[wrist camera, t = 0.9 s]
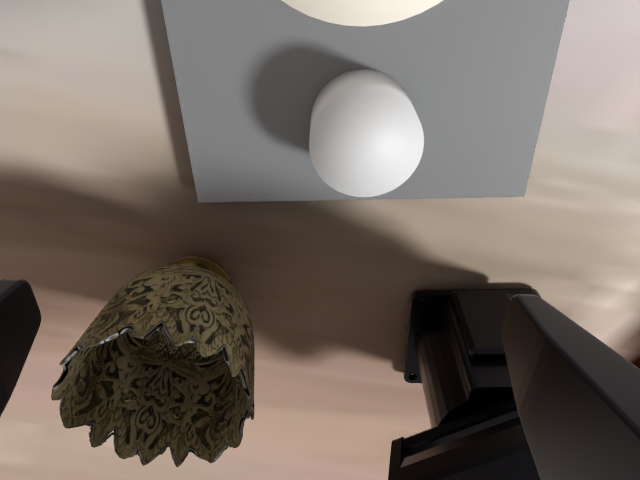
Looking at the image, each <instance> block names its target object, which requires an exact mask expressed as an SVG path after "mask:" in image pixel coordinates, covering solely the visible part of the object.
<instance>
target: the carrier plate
mask: <svg viewBox="0 0 640 480" xmlns="http://www.w3.org/2000/svg"><path fill="white" fill-rule="evenodd" d="M161 4H162V9H163V15H164V20H165V26H166V31H167V37H168V42H169V47H170V53H171V58H172V64H173V69H174V75H175V80H176V85H177V91H178V96H179V102H180V107H181V113H182V118H183V124H184V129H185V134H186V140H187V145H188V151H189V156H190V162H191V167H192V173H193V178H194V183H195V189H196V194H197V200H198V203H210V202H264V201H319V200H373V199H428V198H483V197H524V195H525V191H526V186H527V182H528V178H529V173H530V169H531V165H532V160H533V156H534V152H535V147H536V143H537V139H538V134H539V130H540V126H541V121H542V117H543V113H544V108H545V104H546V100H547V95H548V91H549V87H550V82H551V78H552V74H553V69H554V65H555V61H556V56H557V52H558V48H559V43H560V39H561V35H562V30H563V26H564V22H565V17H566V13H567V9H568V4H569V0H161Z"/></svg>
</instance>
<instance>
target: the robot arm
mask: <svg viewBox="0 0 640 480" xmlns="http://www.w3.org/2000/svg"><path fill="white" fill-rule="evenodd" d="M421 299H423V300H424V301H422V302H418V300H421ZM40 322H41V313H40V310H39V307H38V305H37V302H36V299H35V296H34V294H33V291H32V288H31V286H30V284H29V283H28V282H27V281H26V280H23V279H1V280H0V416H1V414H2V413H3V411H4V409H5V407H6V405H7V403H8V401H9V399H10V397H11V395H12V392H13V390H14V388H15V386H16V383H17V381H18V378H19V376H20V373H21V371H22V368H23V366H24V363H25V361H26V359H27V356H28V354H29V351H30V349H31V346H32V344H33V341H34V339H35V336H36V334H37V331H38V329H39V326H40ZM403 374H404V379H405V381H406V382H409V383H422V384H423V389H424V394H425V399H426V404H427V408H428V413H429V418H430V423H431V429H428V430H426V431H423V432H420V433H418V434H415V435H412V436H410V437H407V438H404V437H401V438H399V439H396V440H393V441H392V445H391V455H390V466H389V476H388V480H640V369H639V368H638V367H636V366H635V365H633V364H632V363H631V362H629V361H628V360H626V359H625V358H624V357H622V356H621V355H620V354H618V353H617V352H615V351H614V350H613V349H611V348H610V347H608V346H607V345H606V344H604V343H603V342H601V341H600V340H599V339H597V338H596V337H595V336H593V335H592V334H590V333H589V332H588V331H586V330H585V329H583V328H582V327H581V326H579V325H578V324H576V323H575V322H574V321H572V320H571V319H570V318H568V317H567V316H565V315H564V314H563V313H561V312H560V311H558V310H557V309H556V308H554V307H553V306H551V305H550V304H549V303H547V302H546V301H545V300H543V299H542V298H541V297H540V295H539V293H538V292H537V291H536V290H535V289H484V290H421V291H416V292H414V293H413V294H412V295H411V298H410V308H409V318H408V328H407V338H406V348H405V358H404V368H403ZM411 374H413V375H411Z"/></svg>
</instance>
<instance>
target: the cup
mask: <svg viewBox="0 0 640 480" xmlns="http://www.w3.org/2000/svg"><path fill="white" fill-rule="evenodd" d="M60 365H63V368H64V369H63V373H62V374H61V376H60V378H59V379H58V381H57V382H56V383H55V384H54V386H53V389H52V396H51V399H52V400H60V399H61V403H60V415H61V419H62V422H63V425H64V427H65V428H74V427H79V426H83V425H87V426H90V425H91V426H90V427H91V428H90V429H91V431H90V433H89V437H90V440H89V441H90V443H91V446H92V447H97V446H100V445H102V443H104V442H106V440H107V439H108V438H109V437H111V435H114V447H115V452H116V453H117V455H118V456H119V457H120V458H122V459H126V458H129V457H133V456H134V455H137V454H138V456H139V457H140V460H141V463H142V465H143V466H144V465H146V464H148V463H149V462H151V461H152V460H154V459H155V458H156V457H157V456H158V455H160V454H163V453H164V452H165V450H166V448H167V447H170V450H171V454H172V458H173V460H174V463H175V465H176V467H179V466H180V465H181V464H182V462H183V461H184V460H185V458H186V457H187V455H188V453H189V452H192V453H193V454H195V455H196V456H197V457H199V458H201V459H204V460H206V461H208V462H209V463H213V462H215V461H216V460H217V459H218V458H219V457H220V456H221V454H222V453H223V452H224V450H226V449H227V448H228V446H229V447H233V448H236V447H238V446H239V445H240V443H241V440H242V437H243V426H244V421H245V420H246V418H249V417H251V419H252V420H253V419H254V335H253V326H252V321H251V317H250V313H249V311H248V308H247V306H246V304H245V302H244V300H243V298H242V297H241V295H240V294H239V293H238V292H237V290H236V289H235V288H234V287H233V286H232V284H231V281H230V279H229V277H228V275H227V273H226V272H225V270H224V269H223V268H222V267H221V266H220V265H218V264H217V263H215V262H214V261H212V260H210V259H207V258H204V257H199V256H186V257H182V258H179V259H176V260H174V261H173V262H171V263H169V264H168V265H166V266H161V267H157V268H154V269H150V270H148V271H146V272H144V273H142V274H140V275H138V276H137V277H135V278H133V279H132V280H131V281H129V282H128V283H127V284H126V285H124V286H123V287H122V288H121V289H120V290H119V291H118V292H117V293H116V294H115V295H114V296H113V298H112V299H111V300H110V301H109V302H108V303H107V304H106V306H105V307H104V308H103V309H102V310H101V312H100V313H99V314H98V316H97V317H96V318H95V319H94V321H93V322H92V323H91V325H90V326H89V327H88V329H87V330H86V331H85V332H84V334H83V335H82V336H81V338H80V339H79V340H78V342H77V343H76V344H75V346H74V347H73V348H72V350H71V351H70V352H69V353H68V354H67V356H66V357H65V358H64V359H63V360H62V361H61V362H60ZM113 430H114V432H113V433H111V432H112V431H113ZM110 433H111V434H110ZM109 434H110V435H109ZM108 435H109V436H108ZM195 452H196V453H195Z"/></svg>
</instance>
